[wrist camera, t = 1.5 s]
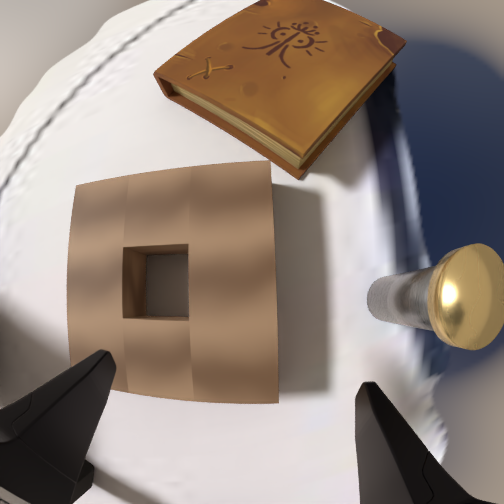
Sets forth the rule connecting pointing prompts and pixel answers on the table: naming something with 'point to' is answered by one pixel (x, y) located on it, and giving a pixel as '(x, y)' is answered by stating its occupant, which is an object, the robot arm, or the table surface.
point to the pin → (447, 297)
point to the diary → (282, 76)
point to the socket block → (199, 274)
